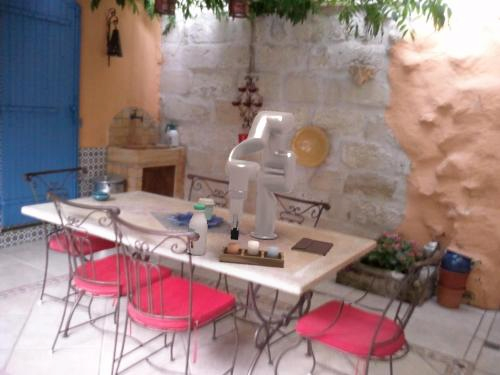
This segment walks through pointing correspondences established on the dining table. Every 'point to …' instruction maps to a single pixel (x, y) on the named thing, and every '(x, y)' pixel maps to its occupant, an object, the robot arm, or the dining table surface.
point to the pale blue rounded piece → (273, 252)
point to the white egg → (253, 247)
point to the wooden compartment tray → (252, 258)
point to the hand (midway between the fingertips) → (234, 239)
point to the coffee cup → (207, 207)
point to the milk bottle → (198, 230)
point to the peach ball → (233, 248)
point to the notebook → (312, 246)
